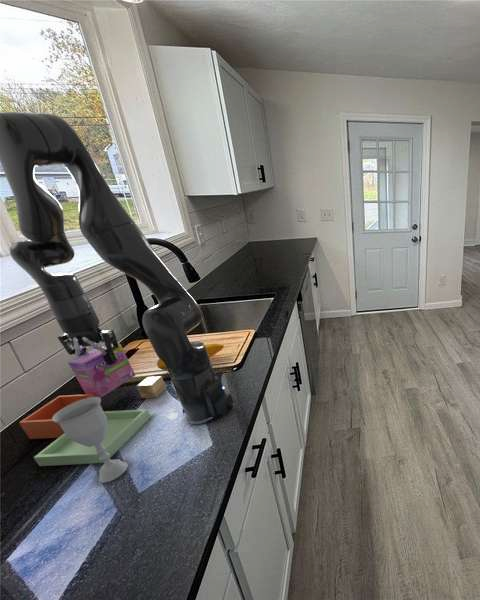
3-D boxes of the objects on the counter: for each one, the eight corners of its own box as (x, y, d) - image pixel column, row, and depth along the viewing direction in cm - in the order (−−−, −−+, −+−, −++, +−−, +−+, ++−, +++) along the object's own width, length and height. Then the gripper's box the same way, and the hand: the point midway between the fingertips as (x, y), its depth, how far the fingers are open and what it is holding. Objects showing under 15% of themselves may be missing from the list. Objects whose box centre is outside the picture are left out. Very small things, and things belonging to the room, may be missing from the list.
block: (166, 387, 98) (161, 375, 96) (156, 397, 94) (151, 385, 92) (152, 388, 98) (147, 376, 96) (141, 398, 94) (136, 386, 92)
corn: (153, 349, 105) (219, 331, 115) (161, 367, 109) (225, 348, 119) (152, 360, 100) (222, 340, 110) (160, 379, 103) (227, 358, 113)
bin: (103, 409, 90) (94, 393, 88) (68, 437, 81) (58, 420, 79) (68, 411, 90) (59, 395, 88) (29, 439, 81) (18, 422, 79)
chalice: (98, 492, 65) (57, 426, 59) (87, 478, 69) (47, 414, 62) (139, 466, 71) (106, 403, 64) (127, 454, 74) (94, 392, 68)
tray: (151, 417, 86) (147, 409, 85) (105, 462, 72) (100, 453, 71) (95, 420, 86) (90, 412, 85) (39, 466, 73) (33, 457, 72)
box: (101, 398, 88) (82, 362, 84) (86, 396, 90) (66, 361, 85) (136, 375, 98) (121, 343, 93) (122, 374, 99) (106, 342, 95)
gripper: (33, 320, 81) (64, 373, 87) (87, 316, 81) (114, 370, 87) (62, 308, 88) (89, 358, 94) (112, 305, 88) (135, 355, 94)
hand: (101, 364), depth 91 cm, fingers closed on box, 6 cm apart
